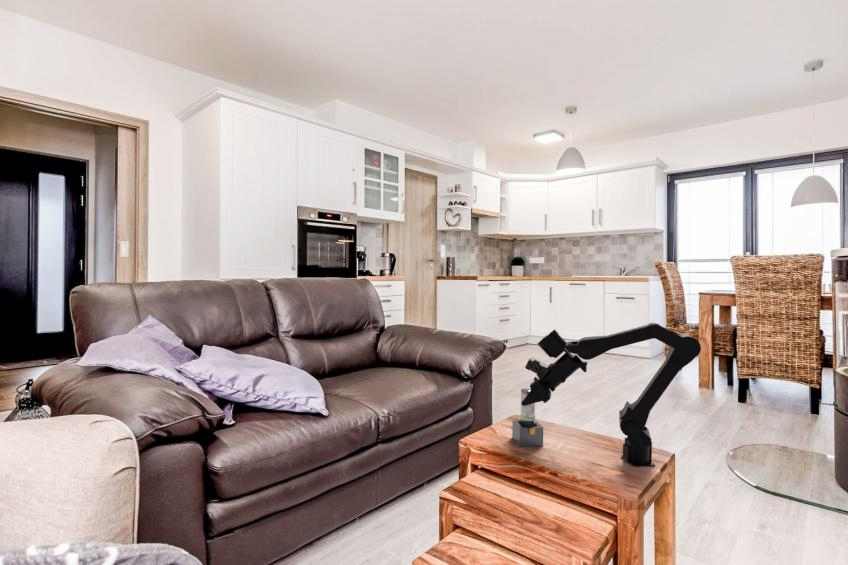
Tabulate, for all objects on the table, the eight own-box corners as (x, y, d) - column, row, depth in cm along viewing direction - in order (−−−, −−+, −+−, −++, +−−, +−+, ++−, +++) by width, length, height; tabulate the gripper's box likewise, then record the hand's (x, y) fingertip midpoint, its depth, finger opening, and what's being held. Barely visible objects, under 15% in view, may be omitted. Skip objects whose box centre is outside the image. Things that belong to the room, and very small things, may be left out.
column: (532, 426, 136) (532, 388, 136) (537, 431, 132) (537, 392, 131) (518, 426, 136) (518, 388, 135) (522, 432, 131) (523, 392, 131)
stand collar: (535, 439, 138) (535, 419, 138) (544, 450, 130) (544, 428, 130) (511, 440, 137) (511, 419, 137) (519, 451, 129) (520, 429, 129)
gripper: (545, 344, 140) (510, 375, 145) (538, 354, 123) (498, 389, 127) (570, 371, 138) (534, 402, 142) (567, 385, 120) (525, 419, 125)
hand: (523, 402), depth 134 cm, fingers closed on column, 4 cm apart
